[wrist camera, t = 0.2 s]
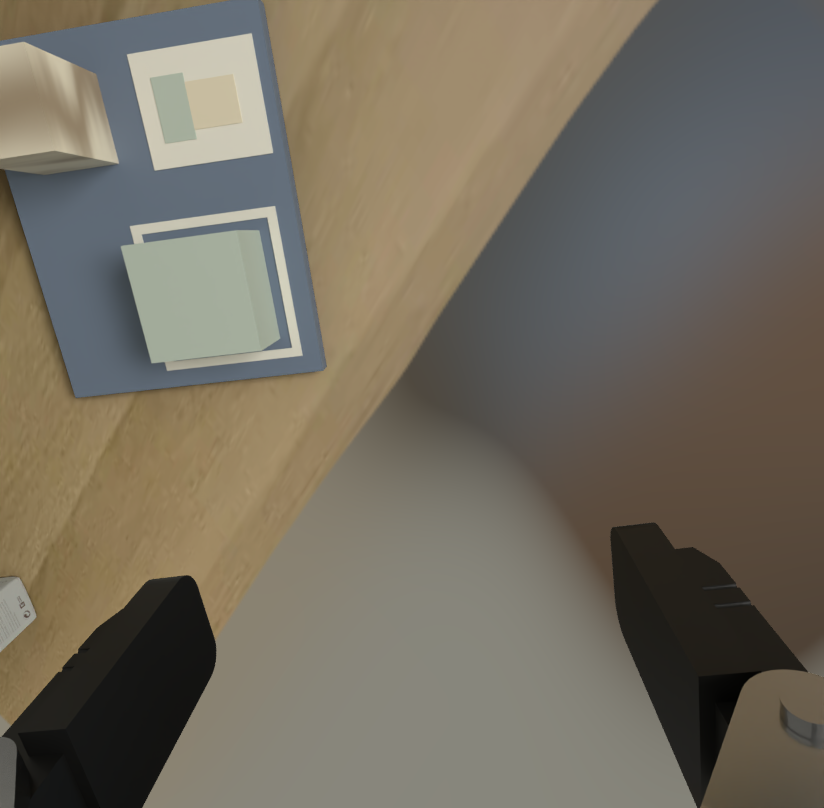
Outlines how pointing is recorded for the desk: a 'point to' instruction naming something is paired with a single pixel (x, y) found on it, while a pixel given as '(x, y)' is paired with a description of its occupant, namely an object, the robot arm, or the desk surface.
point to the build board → (170, 192)
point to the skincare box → (13, 609)
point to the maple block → (50, 114)
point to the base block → (202, 295)
